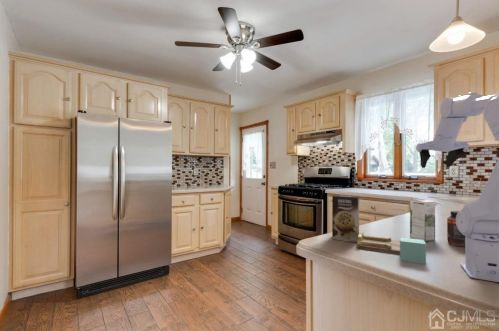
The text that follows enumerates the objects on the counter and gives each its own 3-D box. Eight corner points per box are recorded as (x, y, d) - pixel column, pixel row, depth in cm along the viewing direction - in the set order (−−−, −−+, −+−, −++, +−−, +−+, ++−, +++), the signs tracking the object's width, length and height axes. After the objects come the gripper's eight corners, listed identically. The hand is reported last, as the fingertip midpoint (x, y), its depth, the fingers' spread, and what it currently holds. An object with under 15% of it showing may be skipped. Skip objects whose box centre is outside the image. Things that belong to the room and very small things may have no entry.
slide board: (423, 257, 74) (423, 245, 74) (357, 248, 83) (357, 237, 83) (419, 246, 85) (419, 236, 85) (360, 239, 93) (360, 229, 93)
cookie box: (331, 239, 93) (331, 195, 93) (334, 235, 99) (334, 194, 99) (358, 242, 89) (358, 197, 89) (359, 238, 95) (359, 195, 95)
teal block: (425, 264, 69) (425, 244, 70) (400, 260, 72) (400, 241, 72) (423, 258, 73) (423, 239, 73) (400, 255, 76) (399, 237, 76)
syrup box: (420, 236, 97) (419, 198, 97) (436, 240, 91) (435, 200, 92) (409, 237, 95) (409, 199, 95) (425, 242, 89) (424, 201, 90)
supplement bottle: (474, 247, 83) (473, 213, 83) (453, 246, 84) (453, 212, 84) (462, 242, 89) (462, 210, 89) (443, 241, 90) (443, 209, 90)
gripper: (467, 125, 82) (453, 158, 91) (417, 128, 86) (408, 159, 94) (478, 137, 77) (462, 170, 85) (424, 139, 80) (414, 171, 89)
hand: (434, 165), depth 89 cm, fingers open, 7 cm apart
